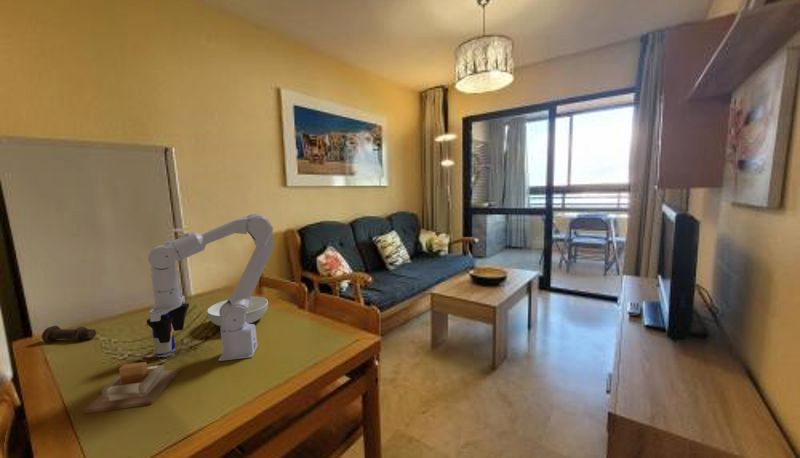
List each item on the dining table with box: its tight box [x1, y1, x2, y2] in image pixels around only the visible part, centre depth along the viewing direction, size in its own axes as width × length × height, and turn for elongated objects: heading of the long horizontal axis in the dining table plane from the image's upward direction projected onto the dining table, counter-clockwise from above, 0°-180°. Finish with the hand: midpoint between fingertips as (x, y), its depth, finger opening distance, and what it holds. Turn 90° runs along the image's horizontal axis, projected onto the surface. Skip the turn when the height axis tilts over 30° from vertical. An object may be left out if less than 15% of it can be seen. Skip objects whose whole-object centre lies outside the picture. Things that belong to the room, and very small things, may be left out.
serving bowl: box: [206, 296, 269, 327], centre depth 124 cm, size 21×21×7 cm
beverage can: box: [149, 309, 176, 358], centre depth 100 cm, size 5×5×15 cm
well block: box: [82, 364, 180, 414], centre depth 82 cm, size 14×14×4 cm
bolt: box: [41, 325, 97, 344], centre depth 113 cm, size 6×5×15 cm
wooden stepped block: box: [118, 361, 148, 385], centre depth 82 cm, size 5×5×6 cm
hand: (172, 335), depth 90 cm, fingers open, 7 cm apart
